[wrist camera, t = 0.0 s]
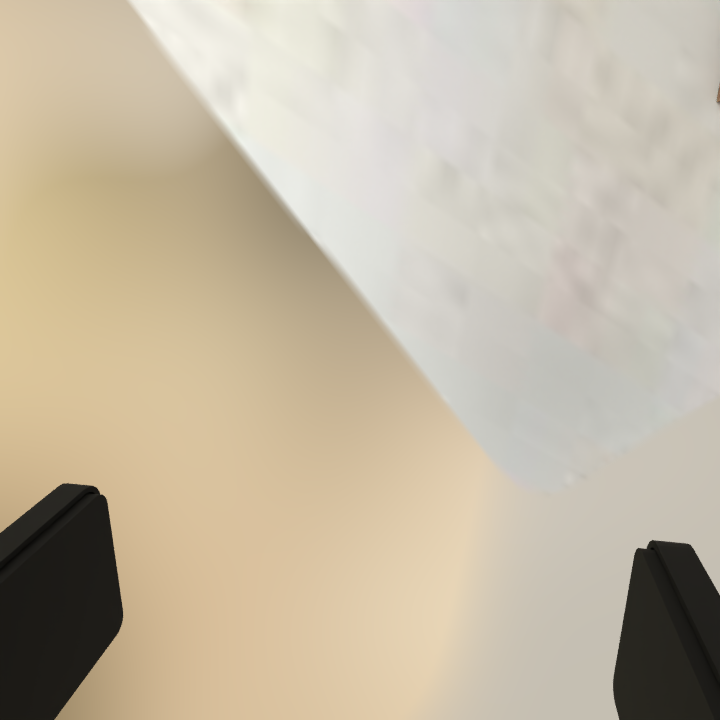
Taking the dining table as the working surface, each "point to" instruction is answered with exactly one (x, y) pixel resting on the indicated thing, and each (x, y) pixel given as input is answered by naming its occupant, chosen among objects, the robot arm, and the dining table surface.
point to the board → (719, 98)
